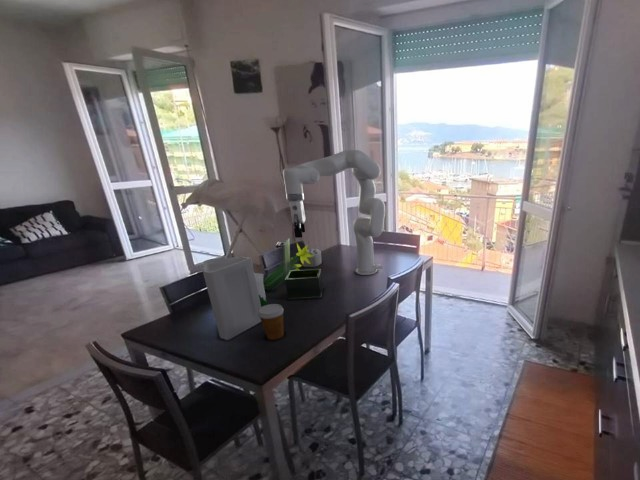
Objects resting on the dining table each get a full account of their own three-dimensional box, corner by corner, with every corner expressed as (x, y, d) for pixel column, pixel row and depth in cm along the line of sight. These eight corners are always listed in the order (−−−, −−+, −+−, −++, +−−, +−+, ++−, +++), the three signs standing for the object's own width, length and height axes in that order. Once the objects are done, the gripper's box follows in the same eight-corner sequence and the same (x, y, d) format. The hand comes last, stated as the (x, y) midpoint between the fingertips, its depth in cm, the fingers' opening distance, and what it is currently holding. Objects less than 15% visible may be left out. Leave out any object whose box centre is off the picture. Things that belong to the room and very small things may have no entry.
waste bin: (323, 288, 185) (320, 268, 181) (320, 298, 174) (318, 277, 170) (292, 290, 184) (289, 270, 180) (288, 300, 173) (285, 279, 168)
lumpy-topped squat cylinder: (300, 265, 219) (298, 252, 215) (311, 259, 230) (309, 246, 227) (315, 267, 216) (313, 253, 212) (325, 260, 227) (324, 247, 224)
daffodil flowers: (252, 288, 189) (294, 254, 212) (274, 304, 188) (314, 268, 211) (253, 269, 176) (298, 235, 199) (277, 285, 175) (319, 249, 198)
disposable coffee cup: (266, 330, 145) (261, 304, 140) (289, 329, 146) (285, 302, 141) (260, 342, 137) (254, 314, 132) (285, 341, 137) (280, 313, 132)
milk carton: (243, 316, 158) (233, 274, 149) (257, 307, 165) (248, 267, 157) (259, 318, 155) (250, 276, 147) (272, 310, 163) (265, 268, 154)
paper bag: (240, 313, 160) (226, 253, 149) (264, 319, 154) (252, 257, 143) (202, 332, 145) (184, 267, 133) (227, 340, 139) (210, 272, 127)
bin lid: (289, 237, 173) (279, 237, 172) (284, 244, 161) (273, 244, 161) (290, 269, 179) (280, 269, 179) (285, 278, 168) (275, 277, 167)
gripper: (301, 200, 152) (306, 239, 159) (306, 194, 168) (310, 230, 175) (283, 200, 151) (289, 239, 158) (290, 194, 167) (295, 230, 174)
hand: (300, 234), depth 167 cm, fingers open, 9 cm apart
